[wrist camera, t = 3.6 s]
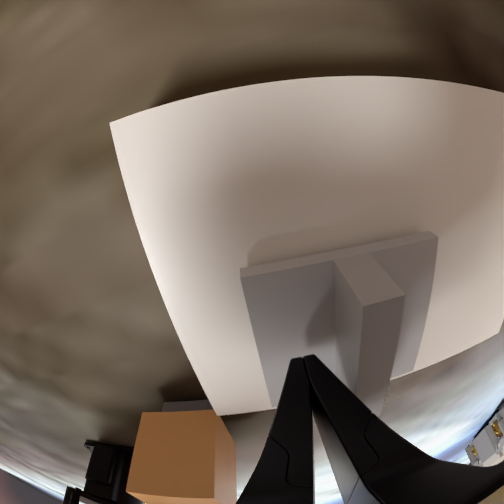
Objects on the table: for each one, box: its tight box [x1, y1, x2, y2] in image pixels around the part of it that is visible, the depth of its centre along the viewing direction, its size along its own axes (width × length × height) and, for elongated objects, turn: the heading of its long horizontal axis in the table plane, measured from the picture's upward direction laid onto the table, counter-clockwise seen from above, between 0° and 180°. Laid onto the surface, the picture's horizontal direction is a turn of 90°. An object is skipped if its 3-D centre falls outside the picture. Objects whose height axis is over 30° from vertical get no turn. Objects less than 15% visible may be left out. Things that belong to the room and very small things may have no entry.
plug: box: [126, 400, 237, 504], centre depth 14 cm, size 5×5×8 cm
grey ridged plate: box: [240, 231, 438, 418], centre depth 9 cm, size 7×7×3 cm
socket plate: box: [110, 76, 504, 416], centre depth 11 cm, size 14×18×3 cm
